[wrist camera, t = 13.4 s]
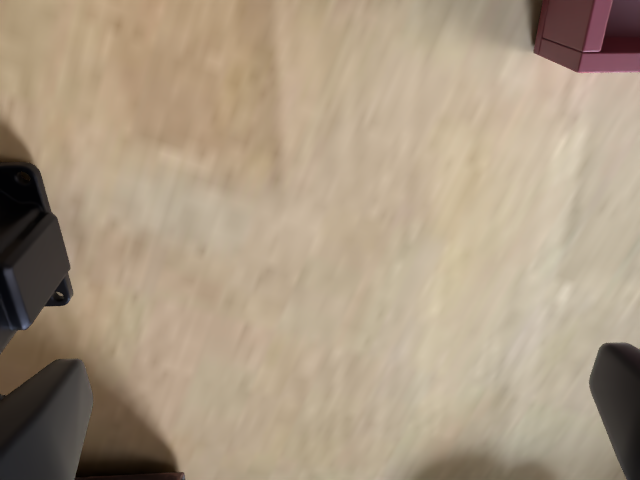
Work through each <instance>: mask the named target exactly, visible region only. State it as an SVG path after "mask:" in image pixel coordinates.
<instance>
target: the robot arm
mask: <svg viewBox="0 0 640 480" xmlns="http://www.w3.org/2000/svg"><path fill="white" fill-rule="evenodd" d="M21 172H25V173H26V174H28V175H29V177H30V180H26V179H24V178H23V177H22V175H21ZM69 270H70V263H69V260H68V256H67V252H66V249H65V245H64V241H63V237H62V234H61V230H60V226H59V223H58V219H57V217H56V216H55V215H54V214H53V213H52V212H51V209H50V206H49V202H48V198H47V195H46V191H45V187H44V184H43V180H42V176H41V173H40V171H39V169H38V168H37V167H36V166H35V165H33V164H31V163H27V162H0V354H1V353H2V351H3V350H4V349H5V347H6V346H7V344H8V343H9V342H10V340H11V339H12V338H13V336H14V335H15V333H16V332H17V331H18V330H26V329H28V328H29V326H30V325H31V324H32V323H33V322H34V320H35V319H36V317H37V316H38V314H39V313H40V312H41V310H42V309H43V307H44V306H63V305H66V304H67V303H68V302H69V301H70V299H71V297H72V296H73V289H72V286H71V282H70V278H69V275H68V271H69ZM56 292H60V293H62V294H63V296H59V295H58V294H57V293H56ZM589 385H590V390H591V394H592V396H593V399H594V401H595V404H596V406H597V409H598V411H599V414H600V416H601V419H602V421H603V424H604V426H605V429H606V431H607V434H608V436H609V439H610V441H611V444H612V446H613V449H614V451H615V454H616V456H617V459H618V461H619V463H620V466H621V468H622V470H623V472H624V474H625V477H626V479H627V480H640V349H638V348H636V347H634V346H632V345H631V344H628V343H605V344H603V345H602V346H601V347H600V348H599V350H598V353H597V356H596V360H595V363H594V366H593V369H592V372H591V375H590V380H589ZM92 407H93V393H92V389H91V386H90V382H89V379H88V375H87V372H86V368H85V365H84V363H83V362H82V360H80V359H58V360H55V361H53V362H52V363H50V364H49V365H47V366H46V367H45V368H43V369H42V370H41V371H39V372H38V373H37V374H35V375H34V376H33V377H31V378H30V379H29V380H27V381H26V382H24V383H23V384H22V385H20V386H19V387H18V388H16V389H15V390H14V391H12V392H11V393H10V394H8V395H7V396H6V395H1V394H0V480H74V479H75V475H76V471H77V467H78V463H79V459H80V455H81V451H82V447H83V443H84V439H85V435H86V431H87V427H88V423H89V419H90V416H91V412H92Z"/></svg>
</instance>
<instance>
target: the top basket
mask: <svg viewBox="0 0 640 480" xmlns="http://www.w3.org/2000/svg"><path fill="white" fill-rule="evenodd" d="M534 53H535V54H537V55H539V56H542V57H544V58H546V59H548V60H551V61H553V62H555V63H557V64H560V65H562V66H564V67H566V68H569V69H571V70H573V71H575V72H578V73H598V72H640V0H543V3H542V8H541V14H540V19H539V25H538V30H537V35H536V41H535V46H534Z"/></svg>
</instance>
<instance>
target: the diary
mask: <svg viewBox="0 0 640 480" xmlns="http://www.w3.org/2000/svg"><path fill="white" fill-rule="evenodd" d="M74 480H185V475H184V472H177V473H153V474H134V475H115V476H95V477H76V478H75V479H74Z"/></svg>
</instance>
